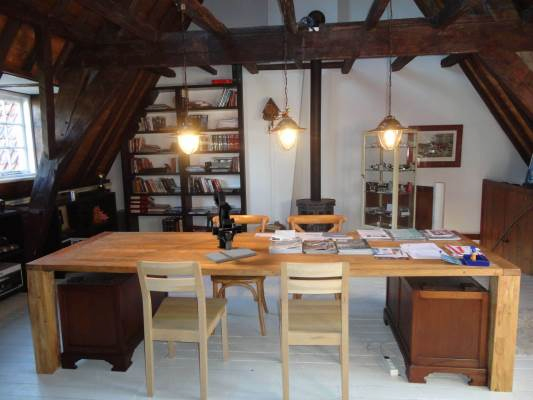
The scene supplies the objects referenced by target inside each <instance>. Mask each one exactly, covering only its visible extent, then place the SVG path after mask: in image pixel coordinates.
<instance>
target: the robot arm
mask: <svg viewBox="0 0 533 400" xmlns="http://www.w3.org/2000/svg"><path fill="white" fill-rule="evenodd" d="M212 200H213V201H214V205H215V206H216V207H217V217H218V224H219V225H218V226H213V227H211V228H212V229H211V233H212V234H211V235H212V236H216V240H217V241H218V245H219V246H217V248H219V249H221V250H223V249H226V239H225V233H232V243H233V242H234V238H235V236H237V234H243V230H244V229H243V225H242V224H241V225H235V227H233V224H235V223H236V222H235V217H231V212H232V210H233V208H232V206H231V205H230V204H229V202H227V201H226V200H227V194H226V193H225V191H217V192H216V193H214V194H213V198H212Z"/></svg>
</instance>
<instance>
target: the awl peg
mask: <svg viewBox="0 0 533 400" xmlns="http://www.w3.org/2000/svg"><path fill="white" fill-rule="evenodd" d="M225 239H226V248H225V251H226V250H232V249H233V242H232V232H230V233H225Z"/></svg>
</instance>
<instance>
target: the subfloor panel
mask: <svg viewBox="0 0 533 400" xmlns="http://www.w3.org/2000/svg"><path fill="white" fill-rule="evenodd" d="M257 253H258V252H257V251H254V250H251V249H250V248H247V247H245V246H244V247H238V248H232V250H226V249H225V250H223V251H217V252H211V253H206V254H204V255H203V256H204V258H206V259H208V260H210V261H211V262H213V263H215V264H217V263H222V262H227V261H231V260H237V259H241V258H246V257H251V256H255V255H257Z"/></svg>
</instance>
